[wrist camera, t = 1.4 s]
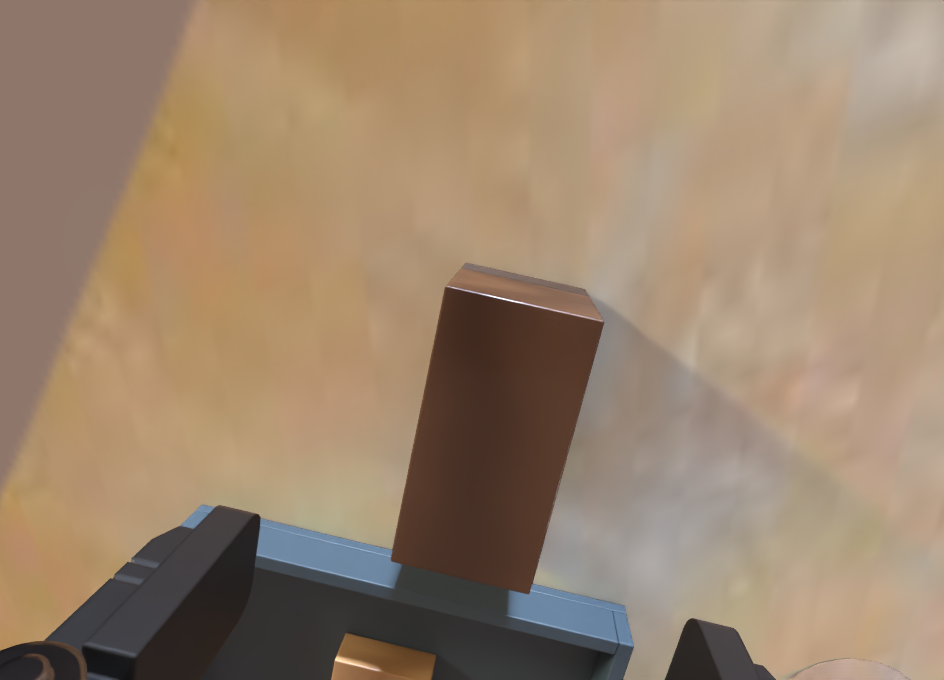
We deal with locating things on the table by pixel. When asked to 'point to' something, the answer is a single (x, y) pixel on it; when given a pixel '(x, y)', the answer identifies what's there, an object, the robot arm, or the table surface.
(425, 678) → the copper square block
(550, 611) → the tray
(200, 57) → the table surface
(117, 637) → the robot arm
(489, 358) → the brown long rectangular block
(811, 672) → the metal cup with straw
